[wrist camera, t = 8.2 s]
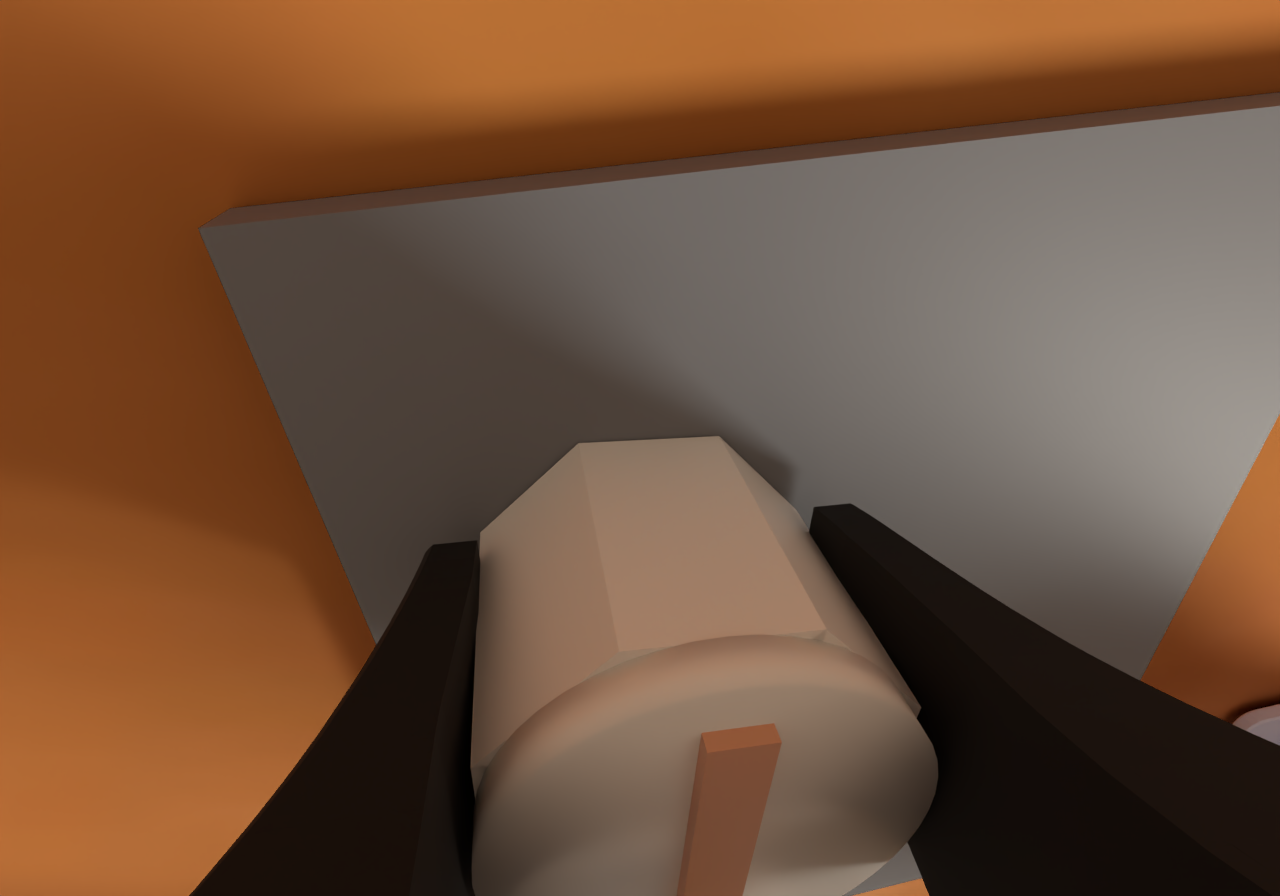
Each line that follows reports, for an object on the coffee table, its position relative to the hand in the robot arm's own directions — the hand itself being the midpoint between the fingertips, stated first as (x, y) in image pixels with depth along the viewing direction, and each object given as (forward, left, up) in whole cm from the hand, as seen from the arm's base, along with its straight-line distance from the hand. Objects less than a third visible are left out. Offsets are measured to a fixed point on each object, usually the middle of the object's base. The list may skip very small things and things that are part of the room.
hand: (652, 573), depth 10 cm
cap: (0, 0, -1) cm, 1 cm away
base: (-4, -3, -2) cm, 6 cm away
